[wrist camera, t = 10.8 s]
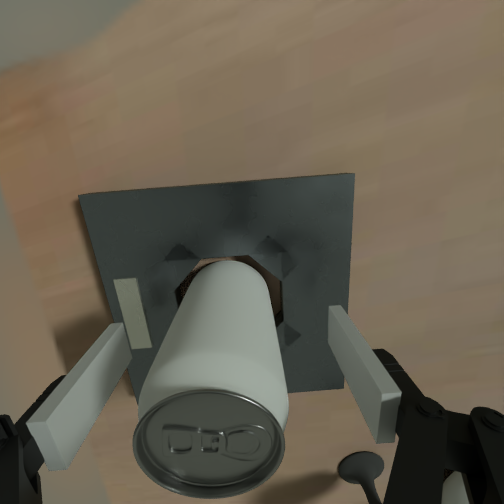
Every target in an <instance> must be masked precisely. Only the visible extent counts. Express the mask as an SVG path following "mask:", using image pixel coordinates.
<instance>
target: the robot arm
mask: <svg viewBox="0 0 504 504" xmlns="http://www.w3.org/2000/svg"><path fill="white" fill-rule="evenodd" d="M328 344H329V346H330V348H331V350H332V352H333V354H334V356H335V358H336V360H337V362H338V364H339V367H340V369H341V371H342V373H343V375H344V377H345V379H346V381H347V383H348V385H349V387H350V390H351V392H352V394H353V396H354V398H355V400H356V402H357V404H358V406H359V408H360V410H361V413H362V415H363V417H364V419H365V421H366V423H367V425H368V427H369V429H370V431H371V433H372V436H373V438H374V440H375V442H376V444H380V443H392V442H395V435H396V433H397V435H398V437H399V441H398V445H397V449H396V453H395V457H394V462H393V466H392V470H391V474H390V478H389V482H388V486H387V490H386V494H385V498H384V502H383V504H441V503H442V491H443V479H444V468H445V469H449V470H453V471H457V472H461V475H462V479H463V482H464V486H465V490H466V494H467V498H468V501H469V504H504V415H503V414H501V413H499V412H498V411H496V410H493V409H490V408H487V407H475V408H473V409H472V411H471V413H470V415H467V414H462V413H457V412H452V411H448V410H445V409H444V408H443V407H442V406H441V405H440V404H439V403H438V402H436V401H434V400H433V399H431V398H428V397H425V396H424V395H423V394H422V392H421V391H420V390H419V388H418V387H417V386H416V385H415V383H414V382H413V381H412V380H411V378H410V377H409V376H408V374H407V373H406V372H405V371H404V369H403V368H402V367H401V366H400V365H399V363H398V362H397V361H396V359H395V358H394V357H393V355H391V354H390V353H388V352H387V351H386V350H384V349H371V348H370V346H369V345H368V343H367V342H366V340H365V339H364V338H363V336H362V335H361V333H360V332H359V330H358V329H357V328H356V326H355V325H354V323H353V322H352V320H351V319H350V318H349V316H348V315H347V313H346V312H345V310H344V309H343V308H342V306H341V305H335V306H329V315H328ZM131 359H132V355H131V351H130V348H129V344H128V340H127V337H126V333H125V329H124V326H123V323H112V324H110V325H109V326H108V327H107V328H106V330H105V331H104V332H103V333H102V334H101V335H100V337H99V338H98V339H97V340H96V341H95V342H94V344H93V345H92V346H91V347H90V348H89V350H88V351H87V352H86V353H85V354H84V355H83V357H82V358H81V359H80V360H79V361H78V362H77V364H76V365H75V366H74V367H73V368H72V369H71V371H70V372H69V373H68V374H67V375H62V376H60V377H59V378H58V379H56V380H55V381H54V382H52V383H51V384H50V385H49V386H48V387H47V388H46V390H45V391H44V392H43V394H42V395H40V396H39V397H38V399H37V400H36V402H34V403H33V404H32V406H31V407H30V408H29V409H28V410H27V411H26V412H25V413H24V414H23V415H22V416H21V418H20V419H19V420H18V421H17V422H16V423H15V424H13V422H12V420H11V418H10V416H9V415H5V414H4V415H0V504H42V493H41V481H40V476H39V474H38V470H39V468H40V467H41V465H42V464H43V463H44V462H45V464H46V466H47V468H48V470H49V471H55V470H66V469H68V467H69V465H70V464H71V462H72V460H73V459H74V457H75V455H76V453H77V452H78V450H79V448H80V447H81V445H82V443H83V442H84V440H85V438H86V436H87V435H88V433H89V431H90V430H91V428H92V426H93V424H94V423H95V421H96V419H97V418H98V416H99V414H100V412H101V411H102V409H103V407H104V406H105V404H106V402H107V400H108V399H109V397H110V395H111V394H112V392H113V390H114V388H115V387H116V385H117V383H118V382H119V380H120V378H121V376H122V375H123V373H124V371H125V370H126V368H127V366H128V365H129V363H130V361H131Z"/></svg>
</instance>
